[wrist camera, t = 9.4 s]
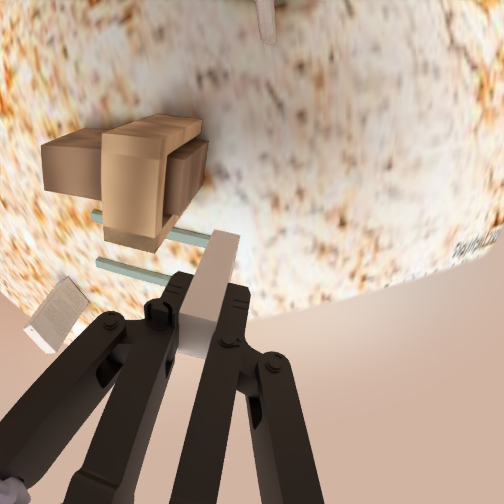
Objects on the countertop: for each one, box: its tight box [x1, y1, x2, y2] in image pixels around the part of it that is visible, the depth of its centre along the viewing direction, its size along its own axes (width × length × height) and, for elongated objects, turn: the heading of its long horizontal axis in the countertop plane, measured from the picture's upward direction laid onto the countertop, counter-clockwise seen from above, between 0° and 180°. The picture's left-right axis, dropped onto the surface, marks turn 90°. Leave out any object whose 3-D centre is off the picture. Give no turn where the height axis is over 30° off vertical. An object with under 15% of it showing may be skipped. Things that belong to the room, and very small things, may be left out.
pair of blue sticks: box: [91, 210, 211, 287], centre depth 36 cm, size 18×9×1 cm, turn 78°
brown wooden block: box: [41, 128, 209, 216], centre depth 26 cm, size 16×5×8 cm, turn 79°
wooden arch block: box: [101, 114, 202, 254], centre depth 25 cm, size 5×10×11 cm, turn 169°
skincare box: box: [23, 277, 89, 354], centre depth 38 cm, size 6×4×12 cm
